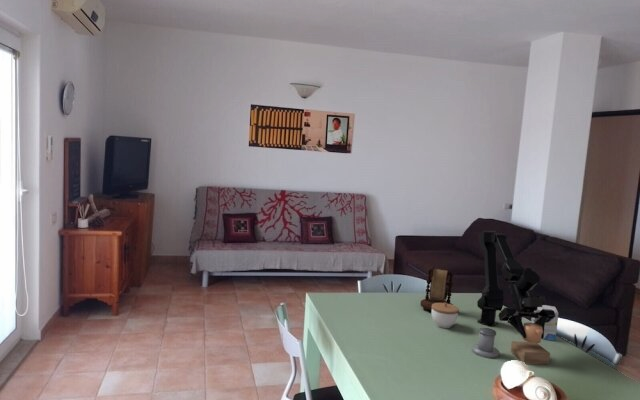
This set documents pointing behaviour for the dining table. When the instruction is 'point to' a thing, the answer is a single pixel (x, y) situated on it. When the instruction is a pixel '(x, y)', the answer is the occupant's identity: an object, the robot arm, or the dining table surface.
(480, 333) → the grey pedestal post
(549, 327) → the ink box
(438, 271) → the scroll
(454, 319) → the lidded jar
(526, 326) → the cap
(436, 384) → the dining table surface
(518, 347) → the stand
